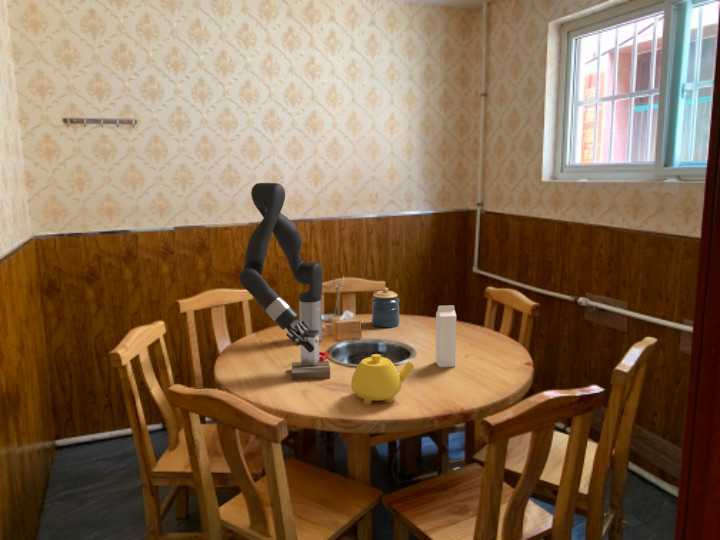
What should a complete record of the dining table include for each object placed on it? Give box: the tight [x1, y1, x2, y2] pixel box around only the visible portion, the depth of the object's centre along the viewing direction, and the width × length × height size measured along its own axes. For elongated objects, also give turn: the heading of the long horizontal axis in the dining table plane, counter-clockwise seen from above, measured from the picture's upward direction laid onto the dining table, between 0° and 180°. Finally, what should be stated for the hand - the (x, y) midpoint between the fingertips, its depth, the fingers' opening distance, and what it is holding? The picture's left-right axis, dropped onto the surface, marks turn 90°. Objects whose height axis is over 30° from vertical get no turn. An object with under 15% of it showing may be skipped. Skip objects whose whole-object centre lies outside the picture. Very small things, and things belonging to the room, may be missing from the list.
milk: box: [435, 305, 457, 368], centre depth 198 cm, size 6×6×22 cm
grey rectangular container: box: [300, 330, 320, 365], centre depth 191 cm, size 5×5×11 cm
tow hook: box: [314, 327, 330, 361], centre depth 209 cm, size 8×13×9 cm
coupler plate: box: [291, 360, 331, 381], centre depth 192 cm, size 11×13×4 cm
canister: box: [371, 287, 400, 328], centre depth 254 cm, size 13×13×18 cm
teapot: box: [350, 353, 415, 405], centre depth 170 cm, size 20×16×14 cm
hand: (314, 348), depth 191 cm, fingers closed on grey rectangular container, 5 cm apart
